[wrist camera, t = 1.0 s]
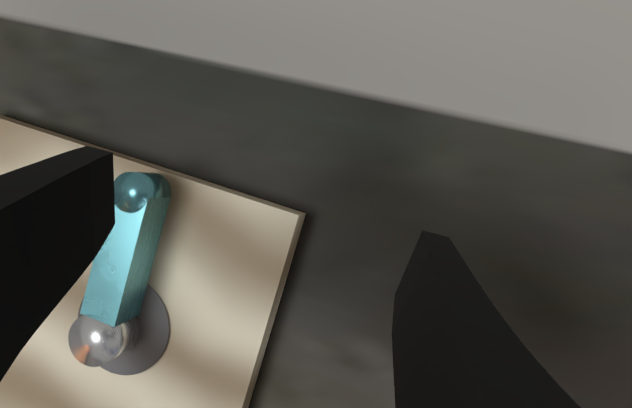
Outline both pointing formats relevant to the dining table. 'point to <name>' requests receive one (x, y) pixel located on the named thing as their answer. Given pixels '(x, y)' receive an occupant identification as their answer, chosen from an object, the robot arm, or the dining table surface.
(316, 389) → the dining table surface
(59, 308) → the latch board
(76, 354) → the teal rounded rod
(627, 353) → the dining table surface
